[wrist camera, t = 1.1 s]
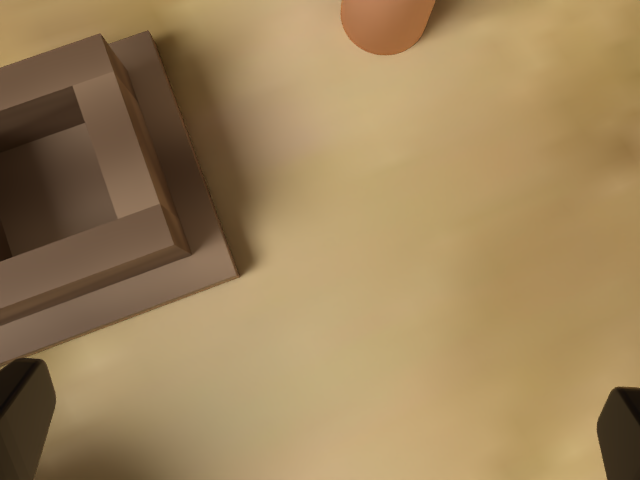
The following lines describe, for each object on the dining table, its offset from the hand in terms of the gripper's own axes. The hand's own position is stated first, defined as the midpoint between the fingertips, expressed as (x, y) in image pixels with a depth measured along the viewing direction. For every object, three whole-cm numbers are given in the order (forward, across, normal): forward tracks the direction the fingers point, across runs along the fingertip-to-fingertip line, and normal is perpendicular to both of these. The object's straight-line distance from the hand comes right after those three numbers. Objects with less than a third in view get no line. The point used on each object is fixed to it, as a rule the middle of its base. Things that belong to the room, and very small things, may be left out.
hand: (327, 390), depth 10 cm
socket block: (+13, +10, +5) cm, 17 cm away
